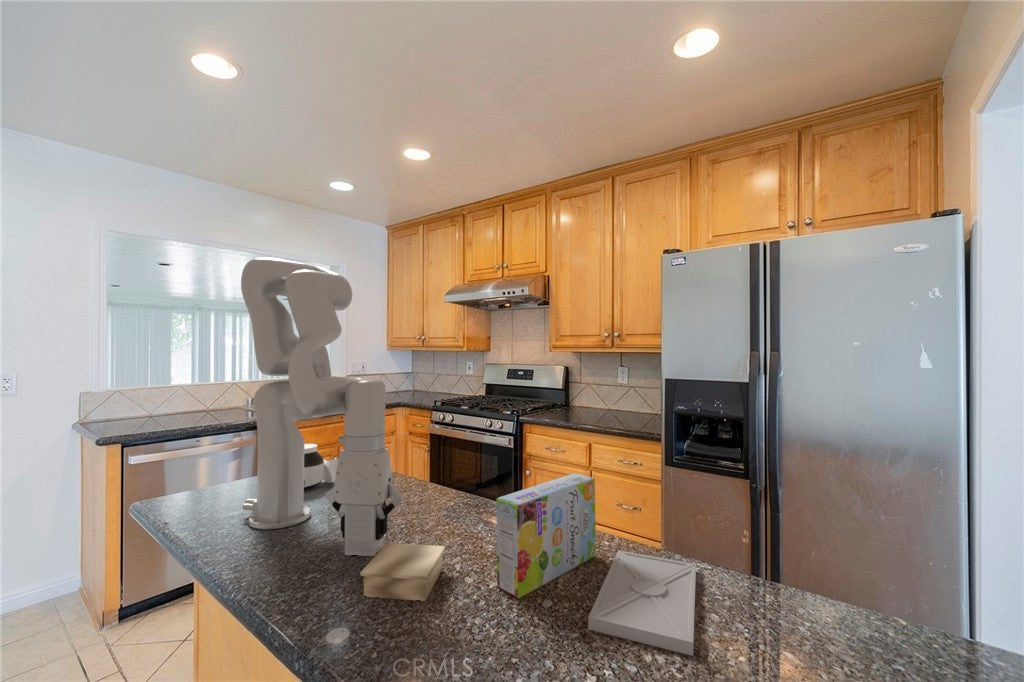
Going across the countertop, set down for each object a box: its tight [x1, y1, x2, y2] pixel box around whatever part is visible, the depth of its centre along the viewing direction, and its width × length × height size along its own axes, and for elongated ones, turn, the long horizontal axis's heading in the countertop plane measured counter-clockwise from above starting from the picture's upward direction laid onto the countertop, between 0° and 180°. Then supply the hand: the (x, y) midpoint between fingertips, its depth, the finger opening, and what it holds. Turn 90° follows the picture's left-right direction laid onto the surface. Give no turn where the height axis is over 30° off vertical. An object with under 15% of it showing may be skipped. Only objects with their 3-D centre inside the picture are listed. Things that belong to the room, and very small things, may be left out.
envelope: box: [587, 550, 697, 657], centre depth 71 cm, size 24×2×14 cm
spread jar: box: [304, 443, 336, 492], centre depth 127 cm, size 12×11×12 cm
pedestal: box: [359, 542, 446, 602], centre depth 75 cm, size 11×11×4 cm
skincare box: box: [344, 505, 383, 557], centre depth 87 cm, size 6×4×12 cm
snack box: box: [496, 473, 597, 599], centre depth 79 cm, size 21×6×15 cm, turn 134°
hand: (363, 535), depth 86 cm, fingers closed on skincare box, 6 cm apart
